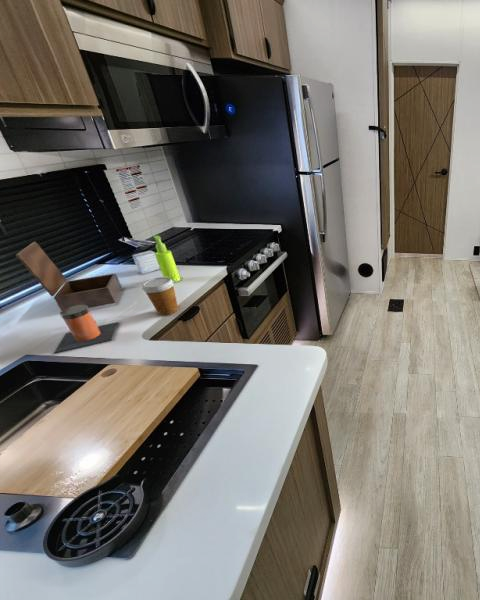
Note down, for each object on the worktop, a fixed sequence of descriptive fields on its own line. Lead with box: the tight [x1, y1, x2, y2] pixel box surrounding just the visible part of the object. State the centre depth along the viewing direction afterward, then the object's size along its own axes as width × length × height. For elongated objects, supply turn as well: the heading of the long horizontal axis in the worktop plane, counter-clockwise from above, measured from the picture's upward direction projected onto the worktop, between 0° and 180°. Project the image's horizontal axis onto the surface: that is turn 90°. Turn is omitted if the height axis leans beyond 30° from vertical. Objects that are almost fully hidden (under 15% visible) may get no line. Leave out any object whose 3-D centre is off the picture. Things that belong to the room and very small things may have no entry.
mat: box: [54, 321, 119, 354], centre depth 108 cm, size 14×12×1 cm
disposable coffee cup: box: [141, 276, 179, 316], centre depth 120 cm, size 10×10×12 cm
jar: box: [59, 305, 101, 342], centre depth 106 cm, size 7×7×10 cm
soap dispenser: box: [152, 235, 182, 283], centre depth 143 cm, size 6×7×20 cm
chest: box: [53, 272, 123, 312], centre depth 129 cm, size 16×16×7 cm
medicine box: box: [131, 250, 161, 275], centre depth 155 cm, size 8×4×9 cm, turn 144°
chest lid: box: [15, 241, 68, 297], centre depth 119 cm, size 16×16×1 cm
